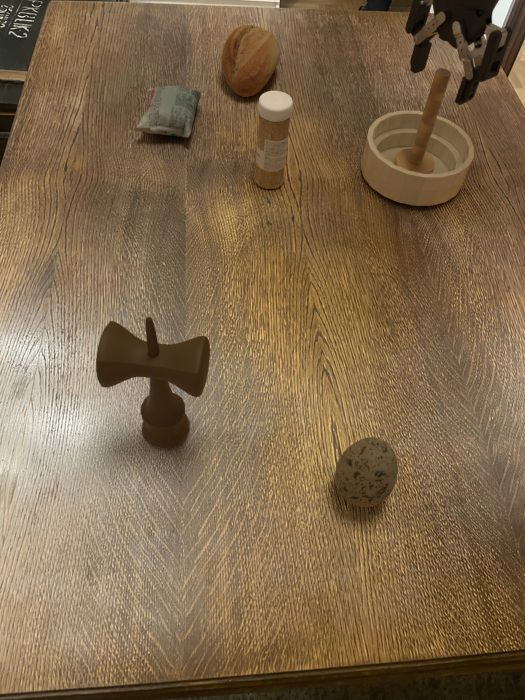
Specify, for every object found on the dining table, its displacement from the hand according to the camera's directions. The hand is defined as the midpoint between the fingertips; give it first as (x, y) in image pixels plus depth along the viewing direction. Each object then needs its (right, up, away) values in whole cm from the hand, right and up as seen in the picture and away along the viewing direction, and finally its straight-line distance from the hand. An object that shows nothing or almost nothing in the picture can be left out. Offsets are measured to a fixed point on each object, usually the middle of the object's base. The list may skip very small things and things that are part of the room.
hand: (438, 86), depth 81 cm
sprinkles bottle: (-23, -10, +10) cm, 27 cm away
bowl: (-1, -8, +12) cm, 15 cm away
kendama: (-34, -44, -15) cm, 58 cm away
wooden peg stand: (-1, -8, +11) cm, 14 cm away
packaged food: (-39, +1, +16) cm, 42 cm away
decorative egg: (-14, -50, -18) cm, 55 cm away
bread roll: (-26, +12, +25) cm, 38 cm away
